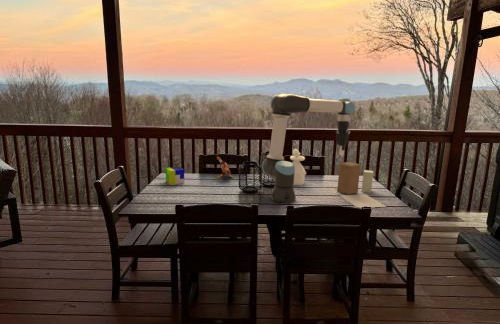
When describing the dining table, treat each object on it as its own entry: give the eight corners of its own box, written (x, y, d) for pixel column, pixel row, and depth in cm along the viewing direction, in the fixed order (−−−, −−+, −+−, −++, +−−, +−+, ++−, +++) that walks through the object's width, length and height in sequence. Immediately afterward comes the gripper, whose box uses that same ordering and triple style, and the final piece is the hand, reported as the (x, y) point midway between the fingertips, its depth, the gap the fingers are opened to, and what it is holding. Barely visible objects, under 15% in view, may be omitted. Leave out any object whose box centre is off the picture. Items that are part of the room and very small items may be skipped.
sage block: (361, 191, 227) (363, 171, 223) (362, 189, 232) (364, 169, 229) (370, 192, 224) (373, 172, 221) (371, 190, 230) (373, 170, 227)
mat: (340, 196, 215) (340, 195, 215) (365, 195, 219) (365, 194, 219) (358, 208, 193) (358, 207, 193) (385, 207, 197) (386, 206, 197)
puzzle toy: (184, 183, 236) (184, 169, 233) (171, 185, 230) (170, 171, 228) (179, 179, 244) (178, 166, 241) (165, 181, 238) (165, 168, 236)
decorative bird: (208, 168, 264) (216, 151, 262) (229, 177, 268) (237, 160, 265) (208, 178, 237) (216, 159, 234) (231, 187, 240) (240, 168, 238)
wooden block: (348, 195, 218) (350, 165, 213) (336, 191, 226) (339, 162, 221) (358, 193, 223) (361, 164, 219) (346, 189, 231) (349, 161, 227)
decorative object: (282, 181, 247) (283, 148, 242) (297, 179, 253) (299, 147, 248) (294, 186, 234) (296, 152, 228) (309, 184, 240) (311, 150, 234)
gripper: (354, 121, 225) (352, 155, 227) (340, 121, 237) (338, 154, 238) (346, 120, 222) (344, 155, 223) (332, 121, 233) (331, 154, 234)
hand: (341, 155), depth 231 cm, fingers closed
